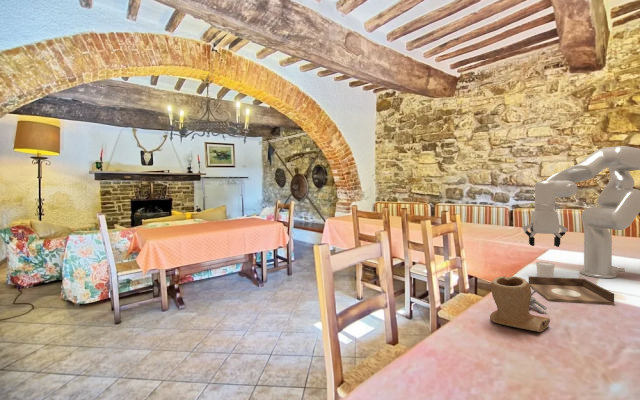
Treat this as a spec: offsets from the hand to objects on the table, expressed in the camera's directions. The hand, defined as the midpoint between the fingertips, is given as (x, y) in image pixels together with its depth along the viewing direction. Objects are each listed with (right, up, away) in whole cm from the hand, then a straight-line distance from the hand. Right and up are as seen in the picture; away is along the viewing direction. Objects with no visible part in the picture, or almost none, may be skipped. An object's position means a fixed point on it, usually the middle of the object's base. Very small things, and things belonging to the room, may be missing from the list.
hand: (544, 245), depth 137 cm
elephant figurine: (-27, -18, -31) cm, 45 cm away
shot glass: (+1, -15, +1) cm, 15 cm away
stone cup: (-41, -18, -44) cm, 63 cm away
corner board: (-5, -16, -19) cm, 26 cm away
